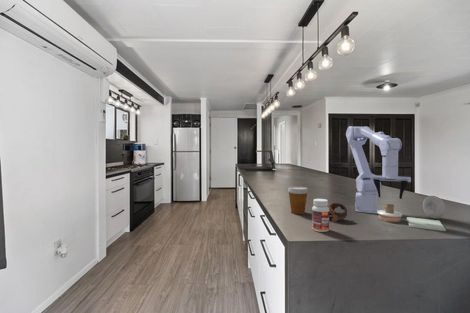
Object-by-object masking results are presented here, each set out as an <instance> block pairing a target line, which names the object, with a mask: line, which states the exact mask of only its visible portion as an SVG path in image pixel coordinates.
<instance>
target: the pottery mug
mask: <svg viewBox="0 0 470 313" xmlns="http://www.w3.org/2000/svg"><path fill="white" fill-rule="evenodd" d="M327 207H328V208H329V217H330V216H332V218H331V221H332V222H334V223H336V222H338V221H341V220H344V219H346V217H347V216H348V208H347V207H346V206H345V205H344V204H342V203H339V202H330V203H329V204H328V205H327ZM338 208H340V209H341V210H343V211H344V212H336V209H338Z"/></svg>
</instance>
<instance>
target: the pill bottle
mask: <svg viewBox="0 0 470 313" xmlns="http://www.w3.org/2000/svg"><path fill="white" fill-rule="evenodd" d="M328 205H329V201H328V199H325V198H314V199H313V206H312V208H311V229H312V230H313V231H314V232H319V233H325V232H329V230H330V216H329V208H328V207H327V206H328Z"/></svg>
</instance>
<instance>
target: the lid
mask: <svg viewBox="0 0 470 313" xmlns="http://www.w3.org/2000/svg"><path fill="white" fill-rule="evenodd" d="M384 206H385V207H384V209H378V211H377V213H378V215H379V214H380V215H384V216H391V217H400V216H401V217H403V213H402V212H399V211H396V210H395V204H393V203H384Z"/></svg>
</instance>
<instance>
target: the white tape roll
mask: <svg viewBox="0 0 470 313" xmlns="http://www.w3.org/2000/svg"><path fill="white" fill-rule="evenodd" d="M433 205H434V208H435V210H434V208H433ZM422 210H423V212H424V213H425V215H427V217H428V218H431V219H432V220H438V219H441V218H442V217H444V216H445V214H446V204H445V203H444V201H443V200H442V199H441V198H440V197H438V196H436V195H429V196H427V197H425V198H424V200H423V202H422Z"/></svg>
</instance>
